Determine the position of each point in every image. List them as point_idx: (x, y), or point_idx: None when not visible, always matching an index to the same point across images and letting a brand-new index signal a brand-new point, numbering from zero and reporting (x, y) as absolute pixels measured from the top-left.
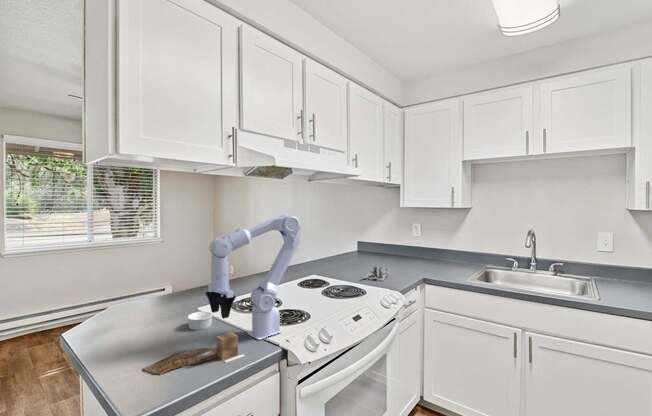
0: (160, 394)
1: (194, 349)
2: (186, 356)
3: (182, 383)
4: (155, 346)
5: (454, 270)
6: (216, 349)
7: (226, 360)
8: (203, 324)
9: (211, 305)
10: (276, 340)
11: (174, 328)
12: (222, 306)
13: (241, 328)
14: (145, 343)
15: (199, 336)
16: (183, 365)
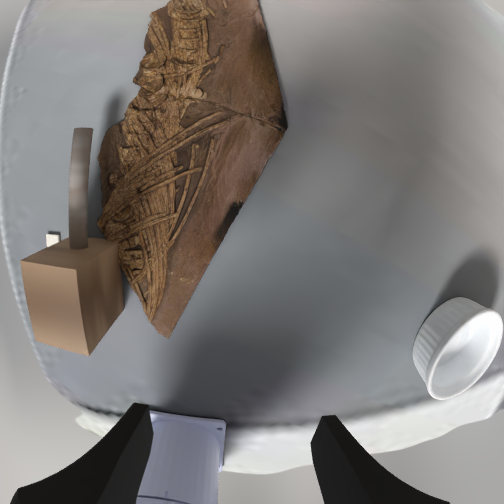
0: (56, 11)
1: (248, 194)
2: (211, 133)
3: (47, 64)
4: (428, 114)
5: None
6: (72, 233)
7: (56, 242)
8: (426, 344)
9: (344, 456)
10: (109, 426)
11: (497, 257)
12: (69, 467)
13: (291, 427)
14: (470, 114)
15: (377, 291)
16: (139, 91)
